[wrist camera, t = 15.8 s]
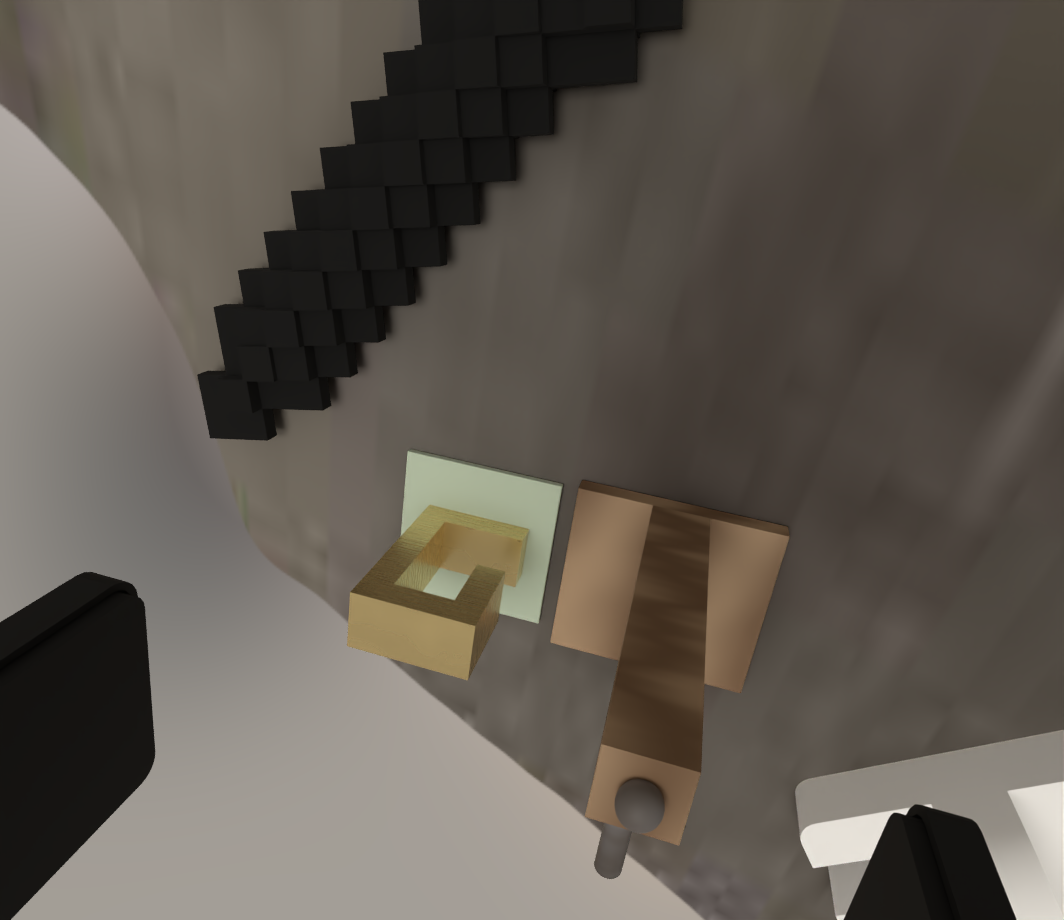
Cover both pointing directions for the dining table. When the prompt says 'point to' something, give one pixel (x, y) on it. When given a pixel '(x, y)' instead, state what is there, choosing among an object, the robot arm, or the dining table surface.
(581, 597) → the stand
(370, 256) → the toy sword
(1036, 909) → the white slotted holder
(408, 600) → the c link
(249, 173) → the dining table surface
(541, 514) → the pad
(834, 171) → the dining table surface
